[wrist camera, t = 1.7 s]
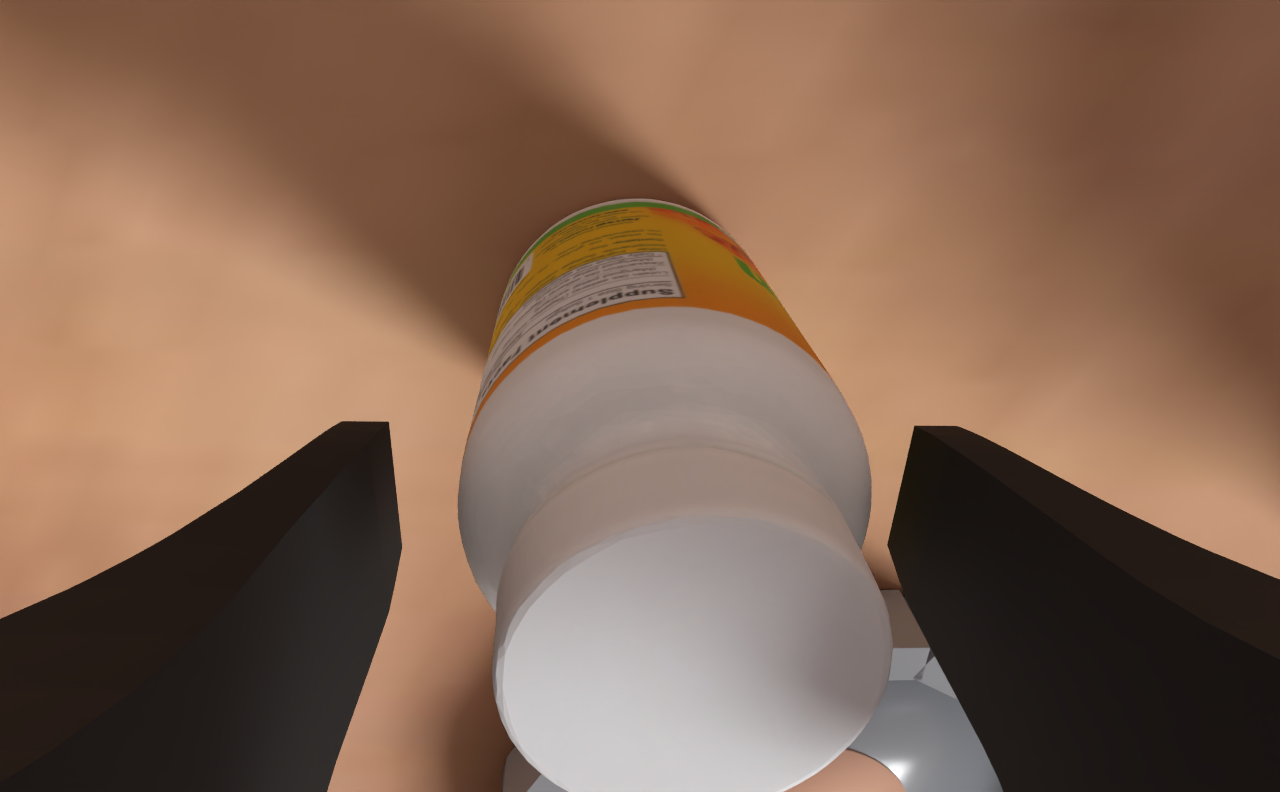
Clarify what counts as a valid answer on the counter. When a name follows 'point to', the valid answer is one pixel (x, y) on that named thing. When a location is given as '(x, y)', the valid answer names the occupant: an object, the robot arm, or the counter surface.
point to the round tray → (879, 732)
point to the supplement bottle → (668, 517)
